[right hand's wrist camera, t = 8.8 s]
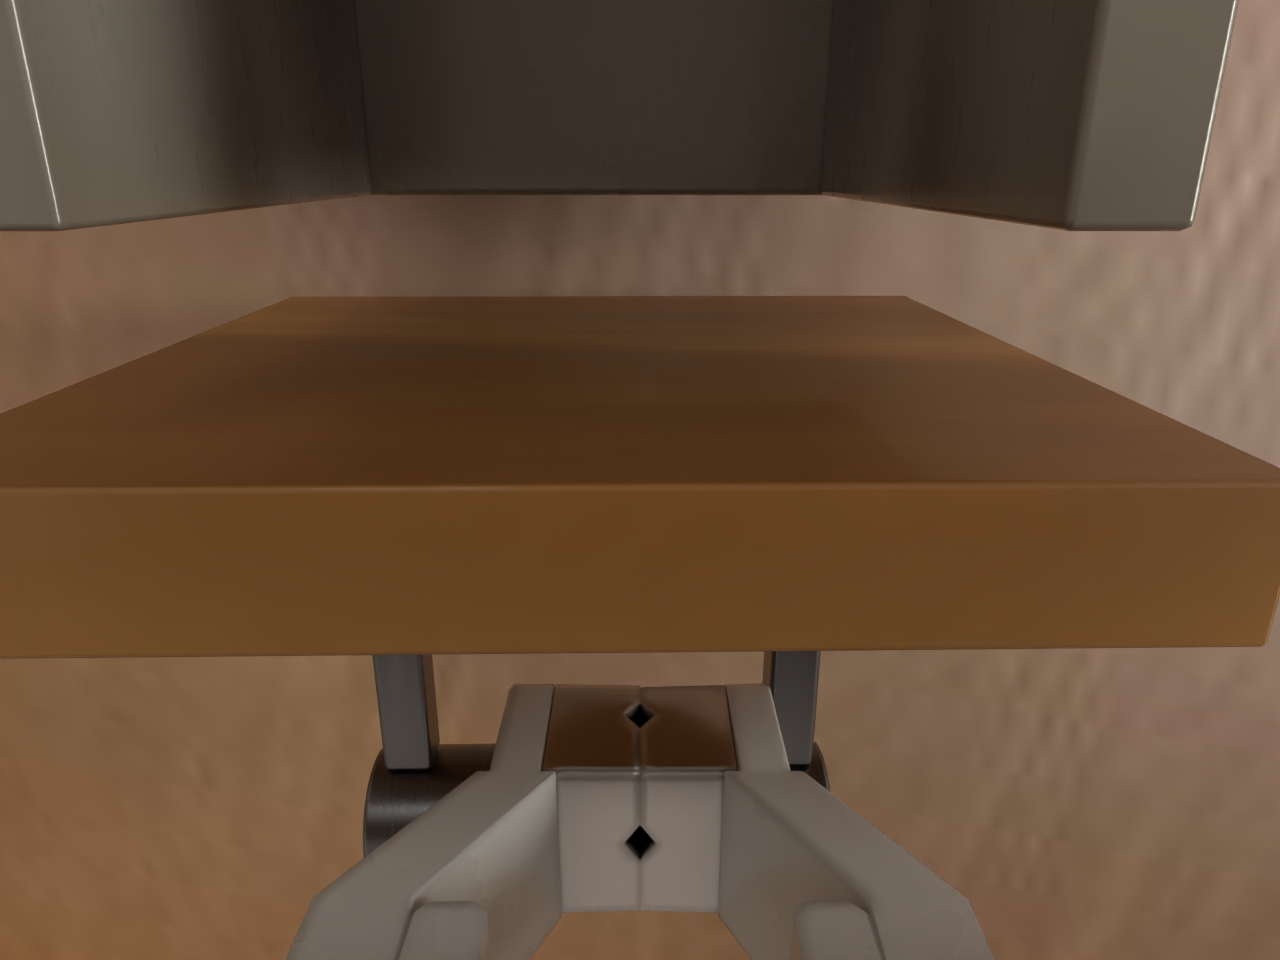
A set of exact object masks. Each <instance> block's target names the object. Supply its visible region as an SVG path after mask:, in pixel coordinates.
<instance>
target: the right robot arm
mask: <svg viewBox="0 0 1280 960" xmlns="http://www.w3.org/2000/svg"><path fill="white" fill-rule="evenodd" d="M633 910H645V911H680V912H716V913H719V917H720V919H721V920H722V921H723V923H724V924H725V925H726V927H727V928H728V929H729V931H730V932H731V933H732V935H733V936H734V937H735V939H736V940H737V941H738V943H739V944H740V945H741V947H742V948H743V949H744V951H745V952H746V953H747V955H748V956H749V957H750V959H751V960H994V957H993V955H992V953H991V951H990V948H989V946H988V944H987V941H986V939H985V937H984V935H983V932H982V930H981V928H980V925H979V923H978V921H977V919H976V916H975V914H974V912H973V909H972V907H971V905H970V903H969V900H968V899H967V898H966V897H965V896H964V895H962V894H961V893H960V892H958V891H957V890H956V889H955V888H953V887H952V886H951V885H949V884H948V883H947V882H946V881H944V880H943V879H942V878H940V877H939V876H938V875H936V874H935V873H934V872H933V871H931V870H930V869H929V868H927V867H926V866H925V865H924V864H922V863H921V862H920V861H918V860H917V859H916V858H915V857H913V856H912V855H911V854H909V853H908V852H907V851H906V850H904V849H903V848H902V847H900V846H899V845H898V844H896V843H895V842H894V841H893V840H891V839H890V838H889V837H887V836H886V835H885V834H884V833H882V832H881V831H880V830H878V829H877V828H876V827H875V826H873V825H872V824H871V823H869V822H868V821H867V820H866V819H864V818H863V817H862V816H860V815H859V814H858V813H856V812H855V811H854V810H853V809H851V808H850V807H849V806H847V805H846V804H845V803H844V802H842V801H841V800H840V799H838V798H837V797H836V796H835V795H833V794H832V793H831V792H829V791H828V790H827V789H826V788H824V787H823V786H822V785H820V784H819V783H818V782H816V781H815V780H814V779H813V778H811V777H810V776H809V775H807V774H806V773H805V772H803V771H790V767H789V763H788V758H787V754H786V750H785V746H784V742H783V738H782V734H781V730H780V726H779V722H778V718H777V714H776V710H775V706H774V702H773V698H772V694H771V690H770V687H769V686H768V685H767V684H766V683H759V684H732V685H713V686H669V687H640V686H624V685H575V684H557V685H556V686H555V685H554V684H514V685H513V686H512V687H511V688H510V690H509V693H508V697H507V701H506V705H505V709H504V713H503V717H502V722H501V726H500V730H499V734H498V738H497V742H496V746H495V750H494V754H493V758H492V762H491V766H490V771H477V772H475V773H474V774H473V775H471V776H470V777H469V778H467V779H466V780H465V781H464V782H462V783H461V784H460V785H458V786H457V787H456V788H454V789H453V790H452V791H451V792H449V793H448V794H447V795H445V796H444V797H443V798H442V799H440V800H439V801H438V802H436V803H435V804H434V805H432V806H431V807H430V808H429V809H427V810H426V811H425V812H423V813H422V814H421V815H419V816H418V817H417V818H416V819H414V820H413V821H412V822H410V823H409V824H408V825H406V826H405V827H404V828H403V829H401V830H400V831H399V832H397V833H396V834H395V835H394V836H392V837H391V838H390V839H388V840H387V841H386V842H384V843H383V844H382V845H381V846H379V847H378V848H377V849H375V850H374V851H373V852H371V853H370V854H369V855H368V856H366V857H365V858H364V859H362V860H361V861H360V862H359V863H357V864H356V865H355V866H353V867H352V868H351V869H349V870H348V871H347V872H346V873H344V874H343V875H342V876H340V877H339V878H338V879H336V880H335V881H334V882H333V883H331V884H330V885H329V886H327V887H326V888H325V889H324V890H322V891H321V892H320V893H318V894H317V895H316V896H314V897H313V899H312V901H311V904H310V906H309V908H308V910H307V913H306V915H305V917H304V919H303V922H302V924H301V926H300V928H299V931H298V933H297V935H296V937H295V940H294V942H293V944H292V946H291V949H290V951H289V953H288V955H287V958H286V960H530V958H531V957H532V956H533V954H534V953H535V952H536V950H537V949H538V948H539V946H540V945H541V944H542V942H543V941H544V940H545V938H546V937H547V936H548V934H549V933H550V932H551V930H552V929H553V928H554V926H555V925H556V924H557V922H558V921H559V920H560V918H561V913H564V912H598V911H633Z"/></svg>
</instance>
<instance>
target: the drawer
mask: <svg viewBox="0 0 1280 960" xmlns="http://www.w3.org/2000/svg"><path fill="white" fill-rule="evenodd" d="M1238 2H1239V0H0V231H63V230H71V229H80V228H88V227H97V226H106V225H114V224H123V223H131V222H140V221H148V220H157V219H166V218H174V217H183V216H191V215H200V214H209V213H217V212H226V211H234V210H243V209H252V208H260V207H269V206H277V205H286V204H294V203H303V202H312V201H320V200H329V199H337V198H346V197H355V196H363V195H826V196H833V197H840V198H847V199H854V200H861V201H868V202H875V203H881V204H888V205H895V206H902V207H909V208H916V209H923V210H930V211H937V212H943V213H950V214H957V215H964V216H971V217H978V218H985V219H992V220H999V221H1005V222H1012V223H1019V224H1026V225H1033V226H1040V227H1047V228H1054V229H1061V230H1067V231H1181V230H1183V229H1186V228H1188V227H1191V225H1192V224H1193V222H1194V220H1195V215H1196V210H1197V205H1198V200H1199V195H1200V190H1201V185H1202V180H1203V175H1204V170H1205V165H1206V160H1207V155H1208V151H1209V146H1210V141H1211V136H1212V131H1213V126H1214V121H1215V116H1216V111H1217V106H1218V101H1219V96H1220V91H1221V86H1222V81H1223V76H1224V71H1225V66H1226V61H1227V56H1228V51H1229V46H1230V41H1231V36H1232V32H1233V27H1234V22H1235V17H1236V12H1237V7H1238ZM1279 596H1280V468H1278V467H1276V466H1274V465H1272V464H1269V463H1267V462H1265V461H1263V460H1261V459H1259V458H1256V457H1254V456H1252V455H1250V454H1248V453H1246V452H1243V451H1241V450H1239V449H1237V448H1235V447H1232V446H1230V445H1228V444H1226V443H1224V442H1222V441H1219V440H1217V439H1215V438H1213V437H1211V436H1208V435H1206V434H1204V433H1202V432H1200V431H1198V430H1195V429H1193V428H1191V427H1189V426H1187V425H1184V424H1182V423H1180V422H1178V421H1176V420H1174V419H1171V418H1169V417H1167V416H1165V415H1163V414H1161V413H1158V412H1156V411H1154V410H1152V409H1150V408H1147V407H1145V406H1143V405H1141V404H1139V403H1137V402H1134V401H1132V400H1130V399H1128V398H1126V397H1123V396H1121V395H1119V394H1117V393H1115V392H1113V391H1110V390H1108V389H1106V388H1104V387H1102V386H1100V385H1097V384H1095V383H1093V382H1091V381H1089V380H1086V379H1084V378H1082V377H1080V376H1078V375H1076V374H1073V373H1071V372H1069V371H1067V370H1065V369H1062V368H1060V367H1058V366H1056V365H1054V364H1052V363H1049V362H1047V361H1045V360H1043V359H1041V358H1038V357H1036V356H1034V355H1032V354H1030V353H1028V352H1025V351H1023V350H1021V349H1019V348H1017V347H1015V346H1012V345H1010V344H1008V343H1006V342H1004V341H1001V340H999V339H997V338H995V337H993V336H991V335H988V334H986V333H984V332H982V331H980V330H977V329H975V328H973V327H971V326H969V325H967V324H964V323H962V322H960V321H958V320H956V319H954V318H951V317H949V316H947V315H945V314H943V313H940V312H938V311H936V310H934V309H932V308H930V307H927V306H925V305H923V304H921V303H919V302H916V301H914V300H912V299H910V298H908V297H906V296H555V297H291V298H289V299H286V300H284V301H281V302H279V303H276V304H274V305H271V306H269V307H266V308H264V309H261V310H259V311H256V312H254V313H251V314H249V315H246V316H244V317H241V318H239V319H236V320H234V321H231V322H229V323H226V324H224V325H221V326H219V327H216V328H214V329H211V330H209V331H206V332H204V333H201V334H199V335H196V336H194V337H191V338H189V339H186V340H184V341H181V342H179V343H176V344H174V345H171V346H169V347H166V348H164V349H161V350H159V351H156V352H154V353H151V354H149V355H146V356H144V357H141V358H139V359H136V360H134V361H131V362H129V363H126V364H124V365H121V366H119V367H116V368H114V369H111V370H109V371H106V372H104V373H101V374H99V375H96V376H94V377H91V378H89V379H86V380H84V381H81V382H79V383H76V384H74V385H71V386H69V387H66V388H64V389H61V390H59V391H56V392H54V393H51V394H49V395H46V396H44V397H41V398H39V399H36V400H34V401H31V402H29V403H26V404H24V405H21V406H19V407H16V408H14V409H12V410H9V411H7V412H4V413H2V414H0V659H3V658H108V657H212V656H317V655H373V664H374V673H375V681H376V690H377V699H378V708H379V717H380V726H381V735H382V743H383V748H382V749H381V751H380V752H379V754H378V756H377V758H376V760H375V763H374V766H373V768H372V772H371V775H370V779H369V783H368V788H367V794H366V800H365V808H364V820H363V851H364V858H365V857H366V856H368V855H369V854H370V853H371V852H373V851H374V850H375V849H377V848H378V847H379V846H381V845H382V844H383V843H384V842H386V841H387V840H388V839H390V838H391V837H392V836H394V835H395V834H396V833H397V832H399V831H400V830H401V829H403V828H404V827H405V826H406V825H408V824H409V823H410V822H412V821H413V820H414V819H416V818H417V817H418V816H419V815H421V814H422V813H423V812H425V811H426V810H427V809H429V808H430V807H431V806H432V805H434V804H435V803H436V802H438V801H439V800H440V799H442V798H443V797H444V796H445V795H447V794H448V793H449V792H451V791H452V790H453V789H454V788H456V787H457V786H458V785H460V784H461V783H462V782H464V781H465V780H466V779H467V778H469V777H470V776H471V775H473V774H474V773H475V772H477V771H490V766H491V762H492V758H493V754H494V750H495V746H496V744H439V742H440V741H439V730H438V718H437V707H436V695H435V684H434V672H433V661H432V654H526V653H630V652H735V651H764V667H763V683H766V684H767V685H768V686H769V687H770V690H771V694H772V698H773V702H774V706H775V710H776V714H777V718H778V722H779V726H780V730H781V734H782V738H783V742H784V746H785V750H786V754H787V758H788V763H789V767H790V771H803V772H805V773H806V774H807V775H809V776H810V777H811V778H813V779H814V780H815V781H816V782H818V783H819V784H820V785H822V786H823V787H824V788H826V789H827V790H828V791H829V792H830V786H829V780H828V774H827V770H826V766H825V762H824V759H823V756H822V753H821V751H820V748H819V746H818V745H817V743H816V742H814V729H815V716H816V703H817V691H818V678H819V665H820V653H821V651H839V650H944V649H1048V648H1153V647H1257V646H1263V645H1265V644H1266V642H1267V641H1268V637H1269V633H1270V629H1271V626H1272V622H1273V618H1274V615H1275V611H1276V607H1277V603H1278V600H1279Z"/></svg>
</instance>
